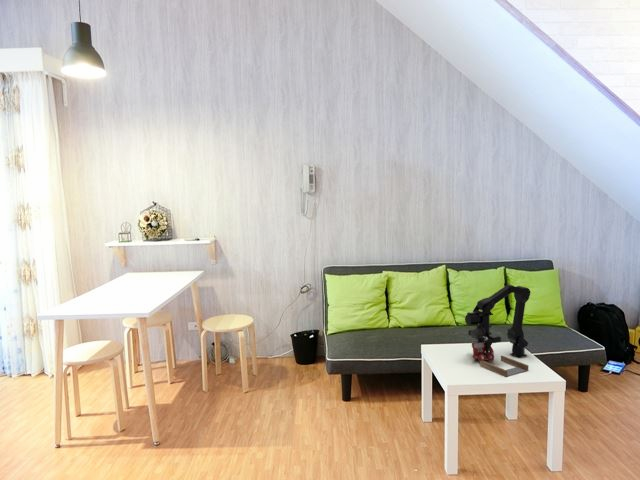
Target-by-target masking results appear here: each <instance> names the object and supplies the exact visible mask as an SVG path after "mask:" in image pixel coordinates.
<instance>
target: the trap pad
mask: <svg viewBox="0 0 640 480" xmlns="http://www.w3.org/2000/svg"><path fill="white" fill-rule="evenodd" d="M506 370H507V377H511V376H515V375H519V374H521V373H522V374H523V373H526V372H527V371H526V370H523V369H521V368H518V367H511V368H509V369H506Z"/></svg>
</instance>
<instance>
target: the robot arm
mask: <svg viewBox="0 0 640 480" xmlns="http://www.w3.org/2000/svg"><path fill="white" fill-rule="evenodd" d="M512 293H513V297H514V301H515V305H514V311H513V312H514V313H513V320H512V326H511V327H510V328H507V334H506V336H507V339H508V341H509V343H510V344H512V346H511V353H509V355H510V356H513V357H516V358H518V359H519V358H523V357H527V356H528V354H527V353H526V350H525V349H526V347H528V345H529V342H528V341H527V340H526V339H525V333H524V330H523V323H524V322H523V321H524V315H525V309H526V303H527V302H528V301H529V299H530V296H531V290H530V288H528V287H525V286H521V285H517V286H514V285H512V284H506V285H504V286H503V287H502V288H501V289H499V290H497V291H496V292H495V293H493V294H491V295H490V296H488V297H484V298H482V299H480V300H478V301H477V303H476V305H475V307H474V308H473V310H472V312H466V315H465V316H464V322H465V324H466V325H467V326H474V325H475V326H476V328H473V329H469V330H468V331H467V332H468V333H467V334H468V336H471V338H473V339H475V340H476V341H477V342H485V348H486V352H488V350H489V348H490V346H491V347H492V345H493V344H496V343H501V342H502V337H501V336H499V335H496V334H493V335H492V332H490V330H491V328H492V324H491V323H490V318H491V317H490V316H493V315H494V313H493V312H491V311H492V310H493V309H494V308H495V306H496V304H497V303H499V302H500V301H502V300H503V299H505V298H506V297H507V296H509V295H510V294H512ZM525 353H526V354H525Z"/></svg>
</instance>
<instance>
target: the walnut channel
mask: <svg viewBox="0 0 640 480" xmlns="http://www.w3.org/2000/svg"><path fill="white" fill-rule="evenodd" d="M479 362H480V364H479V365H480V368H484V369H486V370H488V371H490V372H492V373H495V374H498V375H500V376H502V377H504V378H507V377H508V376H507V369H504V368H502V367H499V366H496V365H495V364H491V363H489V362H487V361H479ZM500 362H502V363H505V364H507V365H510V366H512V367H513V368H515V367H518V368H521V369H523V370H526V372H529V365H528V364H525V363H524V362H521V361H518V360H515V359H513V358H510V357H507V356H505V355H500Z"/></svg>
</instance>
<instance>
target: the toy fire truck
mask: <svg viewBox="0 0 640 480" xmlns="http://www.w3.org/2000/svg"><path fill="white" fill-rule="evenodd" d="M471 347H472V354H473V355H472V358H473V360H475V361H478V362H480V361H484V362H486V361H487V360H488V361H489V362H493V361H494V360H495V354H494V352H495V351H494V350H493V347H492V345H491V346H490V348H489V350H488V352H486V348H485V342H478V341H477V342H476V341H475V342H471Z"/></svg>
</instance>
